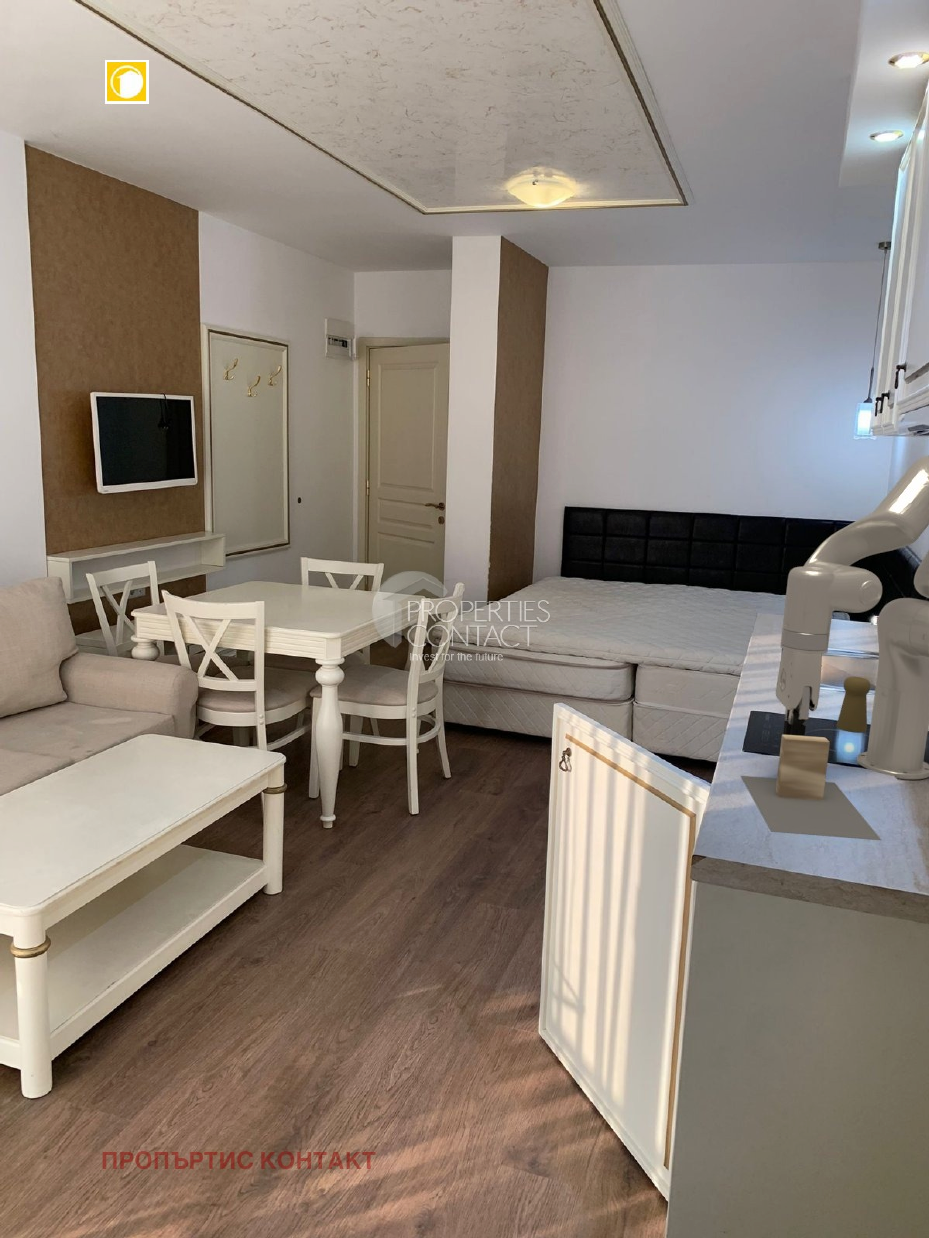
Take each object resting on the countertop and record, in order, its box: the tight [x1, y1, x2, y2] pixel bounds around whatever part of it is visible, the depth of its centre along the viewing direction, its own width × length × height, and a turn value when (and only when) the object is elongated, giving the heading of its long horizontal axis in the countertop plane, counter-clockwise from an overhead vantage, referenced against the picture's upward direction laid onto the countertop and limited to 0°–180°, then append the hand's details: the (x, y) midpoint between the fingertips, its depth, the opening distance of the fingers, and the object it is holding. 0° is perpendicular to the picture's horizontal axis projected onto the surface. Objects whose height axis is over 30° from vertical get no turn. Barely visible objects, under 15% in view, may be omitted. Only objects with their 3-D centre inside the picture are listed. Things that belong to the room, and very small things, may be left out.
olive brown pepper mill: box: [836, 676, 871, 734], centre depth 196 cm, size 6×6×11 cm
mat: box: [740, 775, 882, 841], centre depth 151 cm, size 24×16×1 cm, turn 174°
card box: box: [776, 734, 831, 801], centre depth 154 cm, size 3×7×10 cm, turn 84°
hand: (792, 744), depth 160 cm, fingers closed
